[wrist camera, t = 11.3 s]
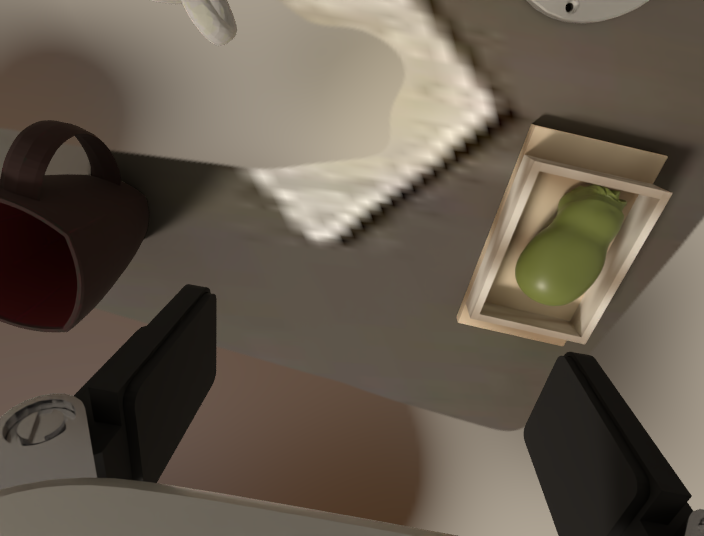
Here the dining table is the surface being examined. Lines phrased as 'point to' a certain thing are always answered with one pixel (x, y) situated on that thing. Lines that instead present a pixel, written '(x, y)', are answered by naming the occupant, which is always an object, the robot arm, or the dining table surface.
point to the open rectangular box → (539, 212)
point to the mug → (62, 230)
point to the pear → (571, 246)
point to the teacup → (210, 18)
